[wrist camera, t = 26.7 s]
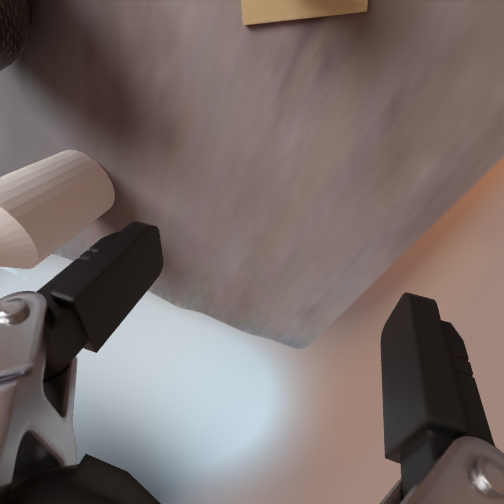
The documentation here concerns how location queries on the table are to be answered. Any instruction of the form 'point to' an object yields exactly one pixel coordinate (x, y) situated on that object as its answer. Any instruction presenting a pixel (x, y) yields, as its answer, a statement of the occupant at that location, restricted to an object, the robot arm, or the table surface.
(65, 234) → the bottle
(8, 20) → the planter
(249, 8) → the cork mat
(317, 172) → the table surface
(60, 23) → the table surface
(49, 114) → the table surface
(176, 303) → the table surface
